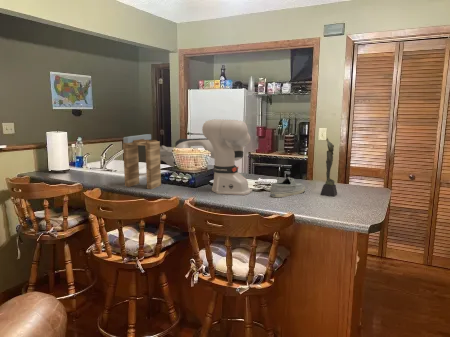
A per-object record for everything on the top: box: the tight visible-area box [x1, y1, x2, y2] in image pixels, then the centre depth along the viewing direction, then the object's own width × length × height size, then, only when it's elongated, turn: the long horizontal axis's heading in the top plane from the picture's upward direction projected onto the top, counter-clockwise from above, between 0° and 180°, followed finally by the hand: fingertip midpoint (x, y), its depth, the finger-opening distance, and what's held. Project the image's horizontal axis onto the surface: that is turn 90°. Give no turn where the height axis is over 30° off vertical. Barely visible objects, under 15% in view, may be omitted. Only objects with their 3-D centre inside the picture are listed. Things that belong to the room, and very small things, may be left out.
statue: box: [320, 137, 338, 198], centre depth 189 cm, size 7×8×30 cm
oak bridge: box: [122, 139, 162, 190], centre depth 208 cm, size 18×10×27 cm, turn 69°
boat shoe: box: [270, 177, 306, 198], centre depth 192 cm, size 9×25×9 cm, turn 136°
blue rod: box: [122, 133, 152, 143], centre depth 209 cm, size 3×23×3 cm, turn 159°
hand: (155, 146), depth 228 cm, fingers open, 8 cm apart
